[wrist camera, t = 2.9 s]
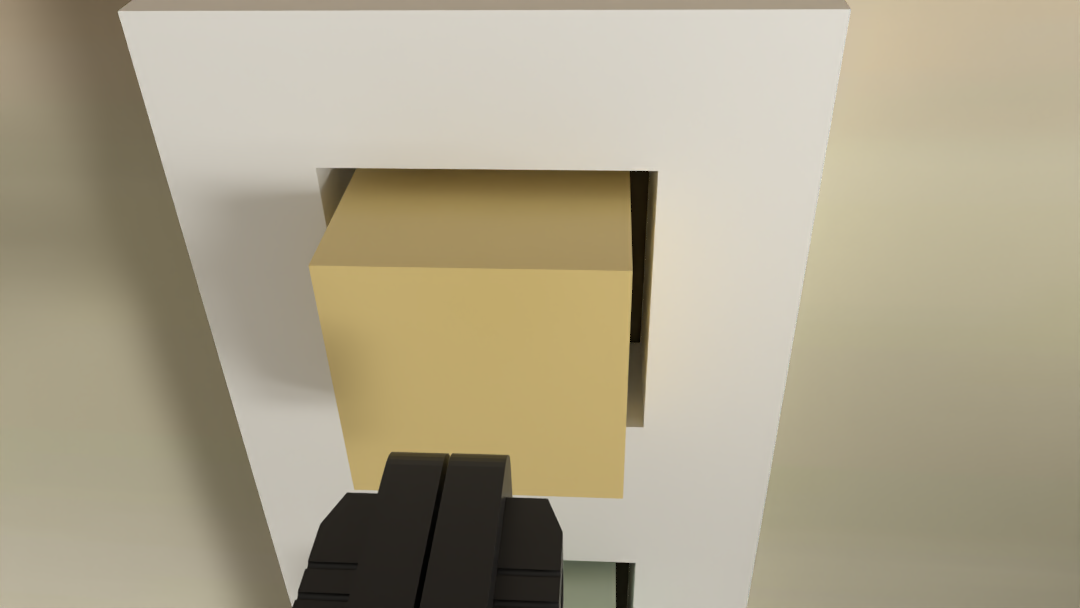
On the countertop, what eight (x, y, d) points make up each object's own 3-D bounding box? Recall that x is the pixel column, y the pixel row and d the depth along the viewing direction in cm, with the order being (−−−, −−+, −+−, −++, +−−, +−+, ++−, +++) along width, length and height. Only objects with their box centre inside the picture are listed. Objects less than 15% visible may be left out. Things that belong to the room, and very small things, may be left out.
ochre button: (629, 166, 15) (633, 270, 12) (621, 377, 17) (623, 499, 15) (358, 164, 15) (308, 265, 12) (390, 372, 17) (353, 489, 15)
